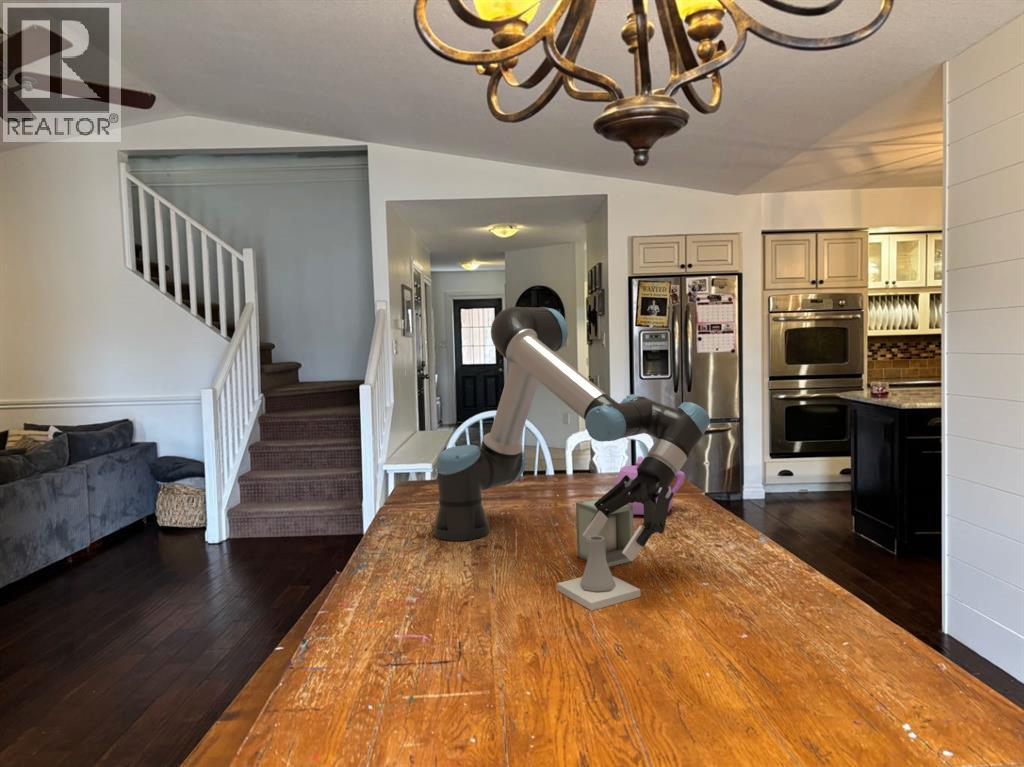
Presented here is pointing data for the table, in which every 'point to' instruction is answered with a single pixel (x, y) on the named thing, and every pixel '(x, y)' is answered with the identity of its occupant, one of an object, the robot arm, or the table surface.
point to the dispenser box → (605, 531)
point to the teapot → (632, 474)
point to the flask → (597, 568)
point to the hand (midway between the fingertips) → (605, 547)
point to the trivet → (598, 593)
